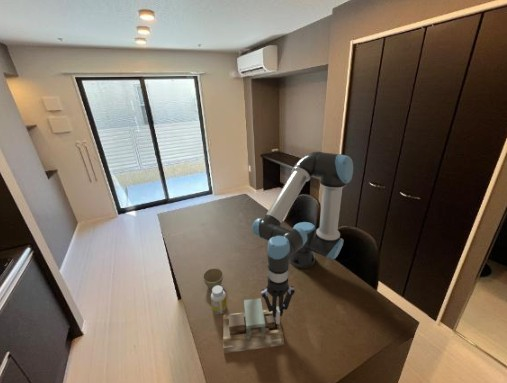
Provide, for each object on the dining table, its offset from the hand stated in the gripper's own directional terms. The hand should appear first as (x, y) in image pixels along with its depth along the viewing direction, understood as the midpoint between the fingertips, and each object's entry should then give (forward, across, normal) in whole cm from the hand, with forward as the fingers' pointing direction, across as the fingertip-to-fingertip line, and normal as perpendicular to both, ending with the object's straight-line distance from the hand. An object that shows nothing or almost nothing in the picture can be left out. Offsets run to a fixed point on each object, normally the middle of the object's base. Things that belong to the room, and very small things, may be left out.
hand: (277, 320), depth 92 cm
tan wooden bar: (+1, +10, 0) cm, 10 cm away
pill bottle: (+5, +24, -13) cm, 28 cm away
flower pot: (+5, +27, -27) cm, 38 cm away
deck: (+4, +10, 0) cm, 11 cm away
